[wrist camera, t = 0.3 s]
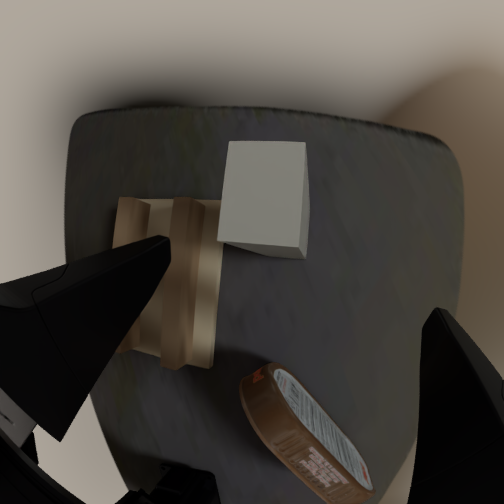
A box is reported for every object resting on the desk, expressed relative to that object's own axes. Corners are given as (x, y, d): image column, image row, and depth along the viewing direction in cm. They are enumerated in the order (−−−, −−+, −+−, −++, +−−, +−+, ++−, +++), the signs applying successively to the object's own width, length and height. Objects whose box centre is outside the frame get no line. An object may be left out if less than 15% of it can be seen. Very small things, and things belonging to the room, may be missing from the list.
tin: (250, 364, 23) (218, 407, 14) (279, 343, 22) (261, 382, 14) (344, 470, 20) (349, 529, 12) (372, 454, 19) (386, 512, 11)
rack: (212, 365, 23) (195, 381, 19) (121, 341, 25) (95, 349, 21) (228, 203, 24) (211, 190, 20) (132, 201, 26) (107, 191, 22)
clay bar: (305, 259, 22) (298, 247, 10) (268, 256, 23) (216, 240, 11) (309, 209, 22) (305, 142, 10) (272, 207, 23) (229, 141, 11)
